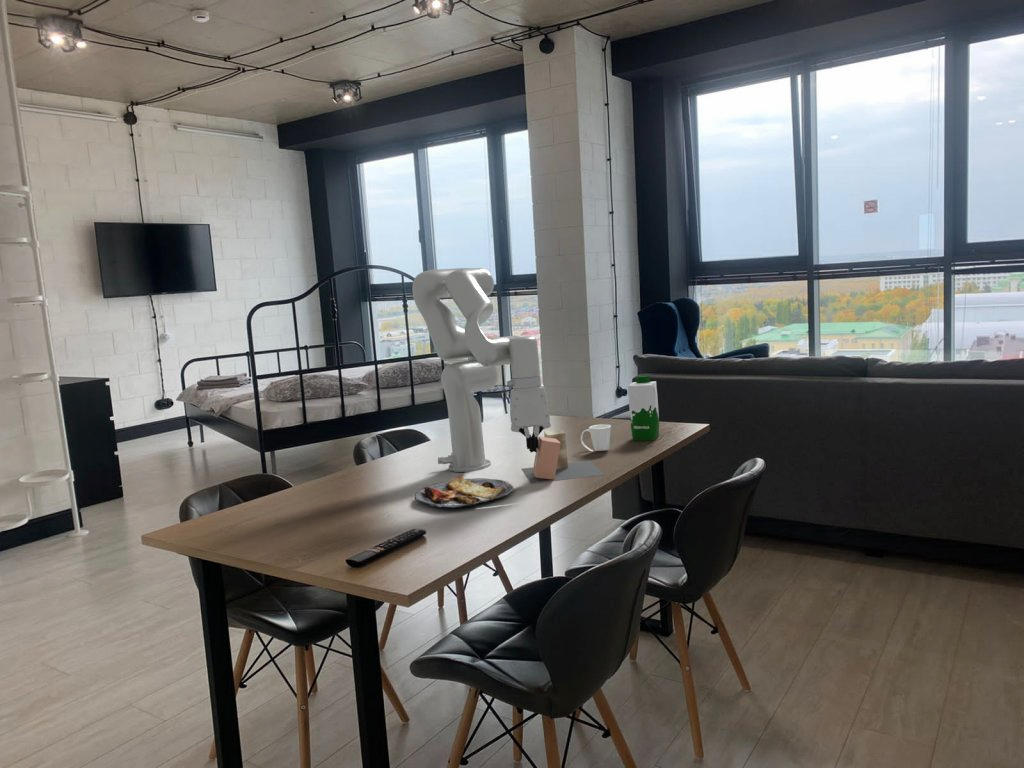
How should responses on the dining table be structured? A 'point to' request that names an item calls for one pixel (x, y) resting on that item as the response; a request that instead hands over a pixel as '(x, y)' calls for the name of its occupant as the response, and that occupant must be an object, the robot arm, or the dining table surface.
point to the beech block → (561, 438)
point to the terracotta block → (546, 458)
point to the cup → (599, 437)
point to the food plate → (463, 492)
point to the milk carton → (643, 409)
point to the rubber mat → (567, 472)
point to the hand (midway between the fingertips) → (533, 451)
